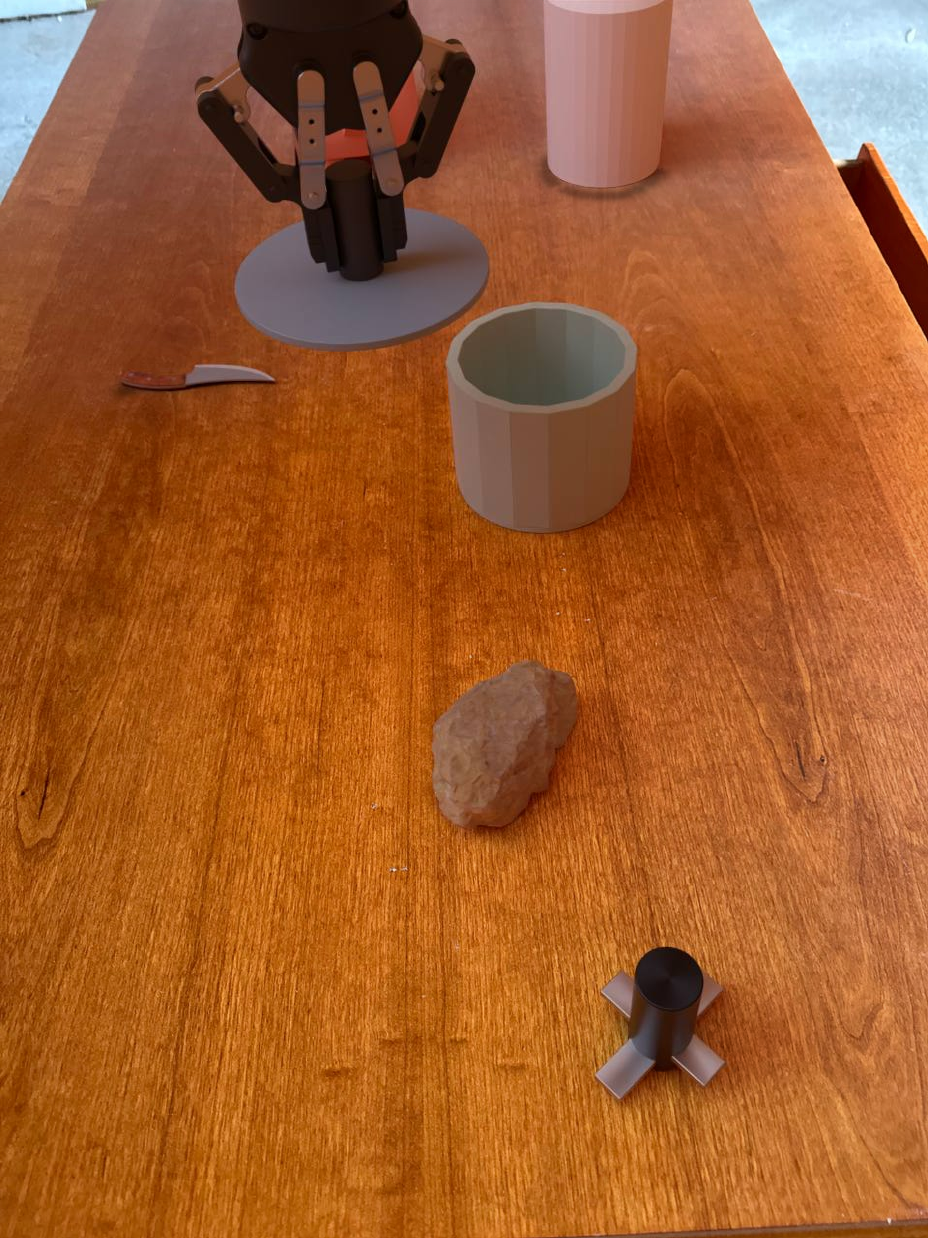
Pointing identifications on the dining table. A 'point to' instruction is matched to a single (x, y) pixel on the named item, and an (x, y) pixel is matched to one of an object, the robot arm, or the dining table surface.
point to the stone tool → (501, 743)
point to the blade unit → (661, 1021)
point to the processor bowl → (542, 415)
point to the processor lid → (362, 275)
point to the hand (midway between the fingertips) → (360, 258)
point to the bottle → (605, 88)
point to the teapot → (354, 140)
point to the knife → (192, 377)
